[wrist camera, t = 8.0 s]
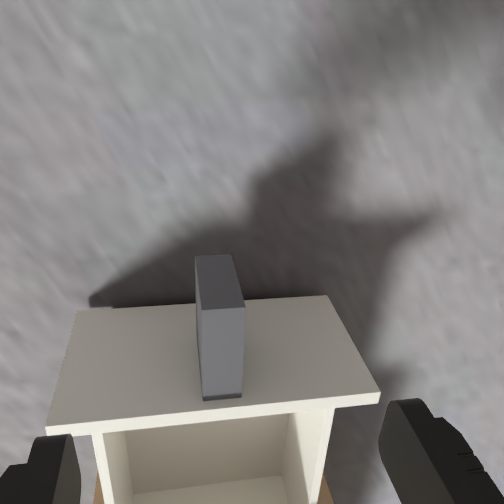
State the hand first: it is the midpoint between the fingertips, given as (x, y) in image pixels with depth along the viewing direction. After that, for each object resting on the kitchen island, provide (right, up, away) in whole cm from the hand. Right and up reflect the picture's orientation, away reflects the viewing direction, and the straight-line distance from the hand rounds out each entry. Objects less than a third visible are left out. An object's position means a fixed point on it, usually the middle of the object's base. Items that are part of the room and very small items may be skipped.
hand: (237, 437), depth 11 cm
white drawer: (-2, -2, +12) cm, 12 cm away
